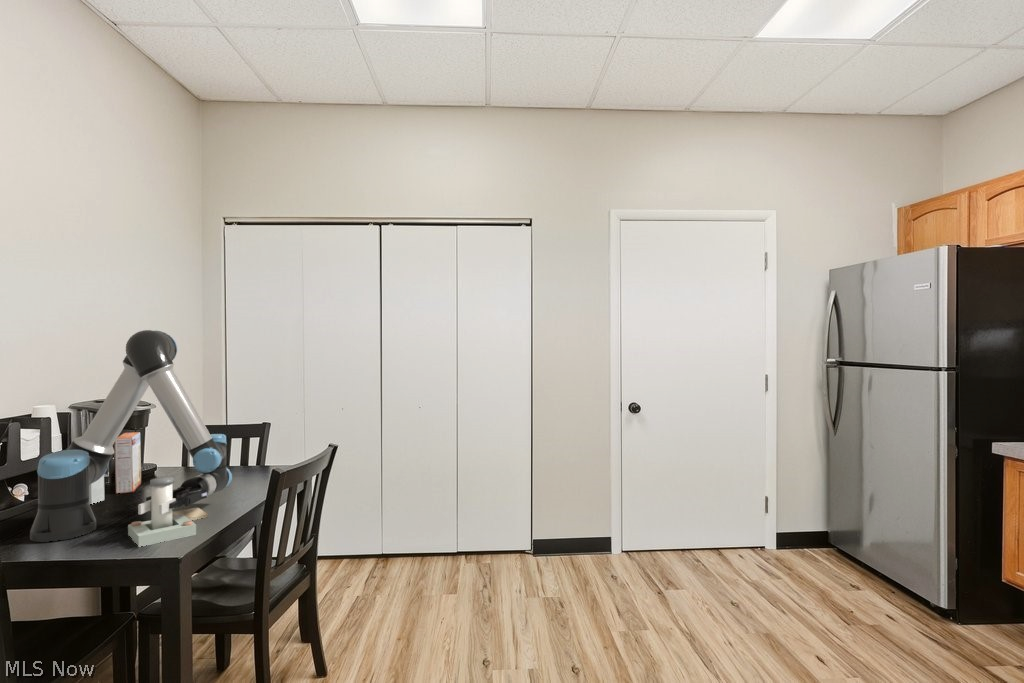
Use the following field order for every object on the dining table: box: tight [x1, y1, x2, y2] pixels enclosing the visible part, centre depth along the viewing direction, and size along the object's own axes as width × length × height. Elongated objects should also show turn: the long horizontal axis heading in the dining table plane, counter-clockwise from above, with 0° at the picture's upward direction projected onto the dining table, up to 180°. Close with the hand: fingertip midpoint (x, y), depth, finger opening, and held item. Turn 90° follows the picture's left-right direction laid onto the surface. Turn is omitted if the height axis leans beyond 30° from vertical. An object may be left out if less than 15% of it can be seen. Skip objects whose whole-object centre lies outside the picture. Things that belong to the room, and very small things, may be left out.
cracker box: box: [114, 431, 142, 494], centre depth 213 cm, size 14×6×21 cm, turn 23°
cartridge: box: [149, 476, 175, 530], centre depth 160 cm, size 6×6×16 cm
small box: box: [89, 474, 105, 505], centre depth 195 cm, size 8×6×10 cm
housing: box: [127, 514, 197, 548], centre depth 160 cm, size 14×14×4 cm
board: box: [173, 507, 209, 521], centre depth 177 cm, size 11×11×1 cm
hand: (150, 509), depth 155 cm, fingers closed on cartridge, 5 cm apart
